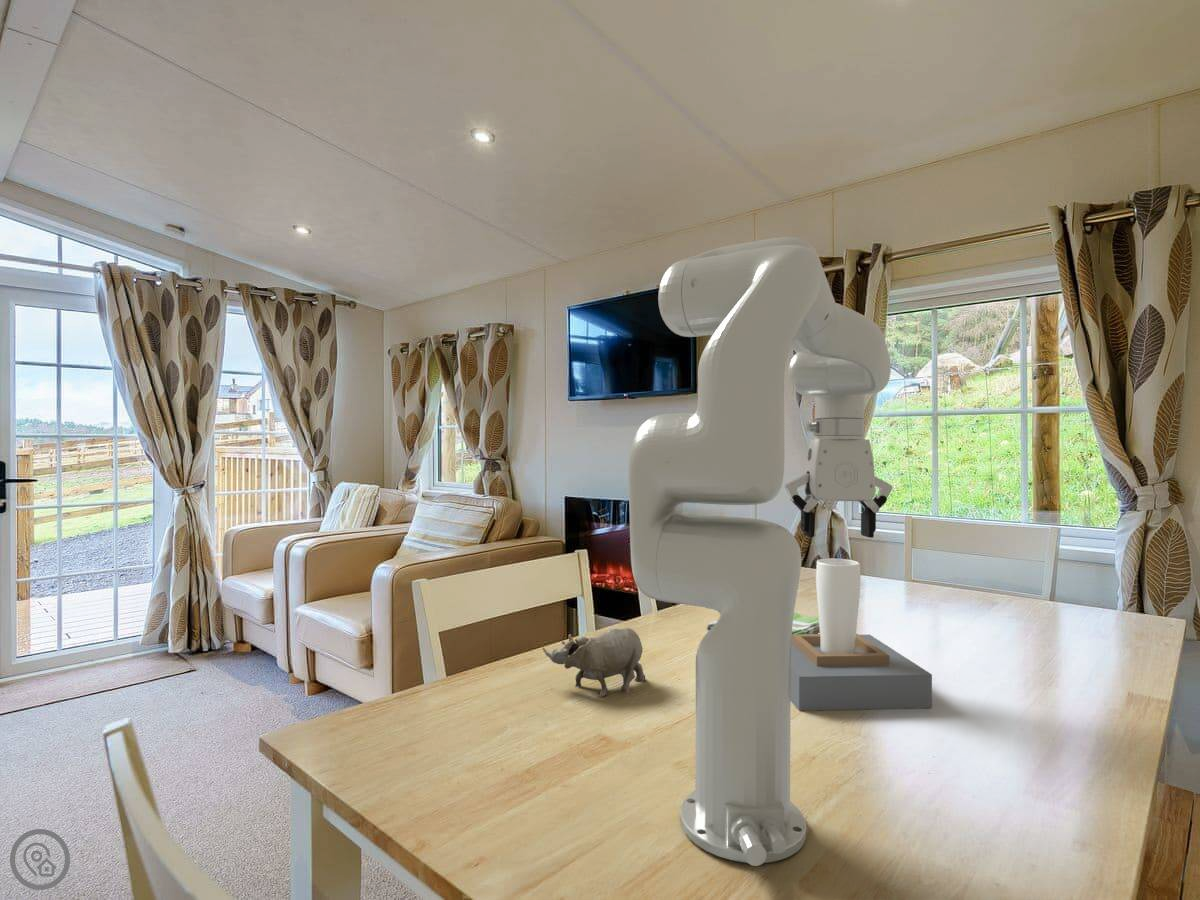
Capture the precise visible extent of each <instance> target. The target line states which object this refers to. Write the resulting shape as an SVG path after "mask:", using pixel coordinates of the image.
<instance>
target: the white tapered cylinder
mask: <svg viewBox="0 0 1200 900" xmlns="http://www.w3.org/2000/svg"><path fill="white" fill-rule="evenodd" d="M815 568H816V569H815V587H816V588H815V589H816V602H817V612H818V618H819V627H820V649H821V651H822V653H824V654H840V653H855V641H856V634H857V628H858V627H857V626H858V616H859V606H860V598H861V597H860V596H861V564H860V562H859V561H856V560H852V559H846V558H835V557H833V558H820V559H817V560H816V567H815Z"/></svg>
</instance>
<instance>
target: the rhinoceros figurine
mask: <svg viewBox="0 0 1200 900" xmlns="http://www.w3.org/2000/svg"><path fill="white" fill-rule="evenodd" d="M567 637H568V642H567V643H566V642H565V641H563V640H561V644H562V645H564V646H563V647H562V648H557V647H556V648H554V649H553V650H552V652H550V651H548V650H547V649H545V648H544V646H542V650H543V652H544V654H545V656H547V658H549V660H550V661H552V662H553V663H554V664H557V665H563V666H564V668H565V669H566V670H567V669H571V668H573V667H574V668H576V669H578V670H579V671H578V672H577V673H576V675H575V685H574V688H576V689H577V688H578V689H579V688H580V686H581V685H582V684H581V681H582V679H583V678H584V679H586V680H590V681H591V680H594V681H598V682H599V683H600V687H601V690H600V692H599V694H598V697H599V698H603V697H604V696H607V692H608V687H607V683H606V680H605V679H607V678H610V677H614V676H617V675H621V677H622V678H623V679H622V685H621V687H620V691H621V692H622V693H624V694H625V693H626V694H627V693H630V692H631V691H630V690H631V687H630V684H631V682H632V681H633V680H634V681H636V682H637V683H644V682H645V681H646V675H645V673H644V670H643V666H642V663H640V662H639V661H640V660H641V658H642V654H643V651H644V649H643V645H642V641H641V638H640V636H639V634H638V633H637V631H635V630H633V629H632V628H629V627H624V628H612V629H608V630H607V631H604V633H601V634H599V635H598V636H595V637H586V636H581V637H578V638H575V639H573V637H572V634H571V633H569V634H568V636H567ZM634 672H635V673H634ZM635 674H636V675H635Z"/></svg>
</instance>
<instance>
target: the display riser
mask: <svg viewBox="0 0 1200 900" xmlns="http://www.w3.org/2000/svg"><path fill="white" fill-rule="evenodd" d="M932 692H933V674H932V673H931V672H929V671H928V670H926V669H924V668H923V667H921V666H919V665H918V664H916V663H915V662H913V661H911V660H910V659H908V658H907V657H906V656H905V655H902V654H901V653H899V652H898V651H896V650H894V649H893V648H892V647H889V646H888V645H886V644H885V643H884V642H882V641H880V639H878V638H876V637H874V636H873V635H871V634H858V633H856V641H855V653H840V654H824V653H822V651H821V649H820V634H792V640H791V700H790V703H792V704H793V705H794V706H795V708H796V709H797V710H798V712H799V711H801V712H802V711H838V710H839V711H841V710H845V711H846V710H847V711H849V710H852V711H853V710H854V709H855V710H895V709H896V710H899V709H903V710H905V709H932V708H933V706H932V705H933V701H932V700H933V699H932V698H933V693H932Z"/></svg>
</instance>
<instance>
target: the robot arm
mask: <svg viewBox="0 0 1200 900" xmlns="http://www.w3.org/2000/svg"><path fill="white" fill-rule="evenodd" d="M657 295H658V297H657V299H658V300H657V301H658V308H659V313H660V316H661V318H662V320H663V322H664V323H665V324H664V325H666V327H668V329H669V330H670V331H671V332H672V333H674V334H676V335H678V336H680V337H685V338H687V337H688V338H693V337H694V338H695V337H703V336H704V337H705V336H710V338H709V340H708V341H707V344H706V345H705V347H704V350H703V351H702V353H701V356H700V359H699V363H698V367H697V406H696V407H697V409H696V410H695V412H688V413H687V412H683V413H676V412H675V413H663V414H659V415H655V416H652V417H650V418H648V419H647V420H645V421H644V422H643V423H642V424H641V425H640V426H639V428H637V431H636V432H635V435H634V437H633V440H632V443H631V447H630V451H629V457H628V505H629V507H628V508H629V509H628V510H629V538H630V540H629V541H630V543H629V545H630V546H629V548H630V565H631V571H632V575H633V576H632V577H633V579H634V582H635V585H636V586H637V588H638V590H639V591H640V593H642V594H643V595H645V596H646V597H648V598H650V599H653V600H656V601H660V602H665V603H671V604H677V605H678V604H679V605H687V606H693V607H700V608H705V609H709V610H713V611H717V612H718V613H719V618H718V619H717V620H716V621H717V623H716V624H715V625H714V626H713V627H712V628H711V629H710V630H709V631H707V632H706V634H705V635H704V636H703V637H702V639H701V640H700V642H699V644H698V647H697V650H696V655H695V778H694V779H695V783H694V784H695V785H694V786H695V790H693V791H692V792H691V793H690V794H688V795H687V796H686V797H685V799H683V801H682V804H681V806H680V814H679V815H680V817H679V819H680V824H681V825H680V826H681V828H682V830H683V831H684V834H685V835H686V836H687V837H688V839H689V840H690V841H691V842H693V843H694V844H695V845H696V846H697V847H699V848H701V849H702V850H705V851H706V852H708V853H710V854H712V855H714V856H717V857H719V858H722V859H726V860H729V861H733V862H739V863H746V864H749V865H750V866H752V867H753V866H754V867H758V866H760V865H763V864H766V863H773V862H778V861H781V860H784V859H787V858H789V857H791V856H793V855H794V854H796V853H797V852H799V851H800V849H801V848H802V847H803V846H804V844H805V842H806V839H807V822H806V818H805V816H804V813H802V811H801V810H800V809H799V807H797V805H795V804H794V803H793V802H792V801H791V701H790V700H791V640H792V625H793V617H794V613H795V607H796V602H797V596H798V590H799V583H800V578H801V573H802V572H801V570H802V569H801V568H802V554H801V548H800V545H799V542H798V540H797V539H796V537H795V536H794V534H792V532H791V531H789V530H788V529H787V528H785V527H783V526H782V525H780V524H778V523H775V522H772V521H768V520H763V519H758V518H751V517H750V518H749V517H737V516H736V517H735V516H723V515H721V516H720V515H712V516H710V515H695V514H683V510H684V504H686V503H687V504H702V505H722V506H723V505H724V506H755V505H761V504H765V503H768V502H770V501H772V500H774V499H775V498H776V497H777V496H778V494H779V492H780V491H781V489H782V486H783V482H784V472H785V370H786V364H787V360H788V356H789V352H790V350H792V351H795V352H796V353H795V354H794V355H793V356H792V358H791V360H790V362H789V364H788V367H787V368H788V370H787V375H788V381H789V383H790V384H791V387H792V388H793V390H795V391H796V393H798V394H799V395H801V396H804V397H811V398H812V397H814V419H813V422H811V423H809V422H808V423H807V424H806V427H805V428H806V429H805V430H806V432H810V433H813V436H814V438H811V439H810V440H809V441H810V442H809V445H808V451H807V456H806V461H805V462H806V463H805V474H803V475H801V476H798V477H796V478H794V479H792V480H791V481H789V482H786V483H785V484H784V489H785V490H786V493H787V494H788V496H789V498H790V501H791V502H792V503H793V504H794V505H795V507H796V508H798V510H799V511H800V531H802V533H803V536H805V537H808V538H814V537H815V535H816V534H815V528H816V527H815V525H816V524H815V522H816V519H815V516H816V515H815V513H814V511H813V508H814V507H815V506H816V505H817V504H818V503H819V502H820V501H825V502H858V503H859V504H860V506H862V508H863V510H862V511H861V513H860V535H861V536H863V537H866V538H869V539H870V538H871V539H872V538H874V536H875V532H876V531H877V529H876V528H877V525H876V524H877V514H878V512H879V511H880V508H882V507H883V506H884V505H885V503H886V502H887V501H888V497H889V496H890V495H891V492H892V490H893V485H892V484H890V483H888V482H886V481H885V480H882V479H881V478H878V477H877V476H875V475H876V474H875V465H874V464H875V463H874V457H873V450H872V446H871V441H870V439H865V395H874V394H879V393H880V392H882V391H883V390H884V389H885V388H886V387H887V386H888V383H889V381H890V379H891V378H890V377H891V374H892V373H891V372H892V371H891V369H892V368H891V359H890V353H889V350H888V347H887V341H886V340H885V339H886V338H885V337H884V334H883V332H882V330H881V328H880V326H879V325H877V323H876V322H875V321H873V320H872V319H870V318H869V317H867V316H866V315H863V314H862V313H860V312H857V311H856V310H854V309H851V308H849V307H848V306H845V305H843V304H841V303H837V302H836V300H835V297H834V295H833V292H832V289H831V288H830V284H829V282H828V279H827V276H826V273H825V271H824V268H823V265H822V262H821V259H820V257H819V255H818V253H817V251H816V249H815V248H814V247H813V246H812V244H811V243H809V242H808V241H806V240H805V239H802V238H800V237H793V236H781V237H780V236H779V237H772V238H768V239H767V238H766V239H761V240H755V241H754V240H753V241H750V242H743V243H737V244H731V245H726V246H721V247H717V248H714V249H711V250H708V251H705V252H702V253H699V254H697V255H694V256H691V257H688V258H685V259H681V260H678V261H676V262H674V263H673V264H672V265H671V266H669V267H668V268H667V270H666V271H665V273H664V274H663V277H662V278H661V281H660V284H659V289H658V294H657ZM803 486H804V494H805V497H803V498H802V496H801V495H800V494H799V492H798V489H799V488H800V487H803ZM876 488H877V489H878V492H877V493H878V494H877V495H876Z"/></svg>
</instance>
